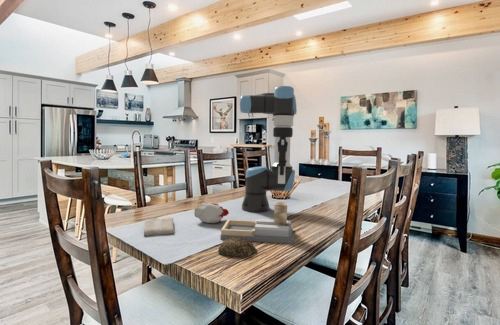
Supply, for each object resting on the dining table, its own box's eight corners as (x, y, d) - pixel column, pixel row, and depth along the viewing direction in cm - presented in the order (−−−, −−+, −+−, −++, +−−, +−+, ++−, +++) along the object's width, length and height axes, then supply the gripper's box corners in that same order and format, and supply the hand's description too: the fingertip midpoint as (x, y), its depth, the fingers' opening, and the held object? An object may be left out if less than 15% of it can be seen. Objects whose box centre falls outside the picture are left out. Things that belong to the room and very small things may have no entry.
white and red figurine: (192, 221, 132) (217, 219, 142) (206, 226, 124) (232, 224, 134) (194, 201, 132) (219, 201, 142) (209, 205, 124) (234, 205, 134)
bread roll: (213, 254, 97) (213, 240, 96) (229, 242, 108) (229, 229, 108) (248, 261, 92) (248, 246, 92) (261, 248, 103) (261, 234, 103)
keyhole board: (220, 239, 111) (220, 226, 110) (228, 226, 126) (228, 215, 126) (293, 243, 107) (294, 231, 107) (292, 230, 123) (292, 219, 123)
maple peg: (272, 234, 113) (273, 204, 112) (272, 229, 119) (273, 201, 118) (287, 235, 113) (288, 205, 112) (287, 230, 119) (288, 202, 118)
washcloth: (173, 222, 133) (173, 215, 132) (174, 235, 116) (174, 227, 115) (145, 224, 129) (145, 217, 129) (143, 237, 112) (143, 229, 112)
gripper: (274, 127, 125) (272, 175, 127) (272, 125, 100) (270, 185, 102) (291, 128, 124) (290, 176, 126) (294, 126, 99) (292, 186, 102)
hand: (281, 180), depth 114 cm, fingers open, 13 cm apart
